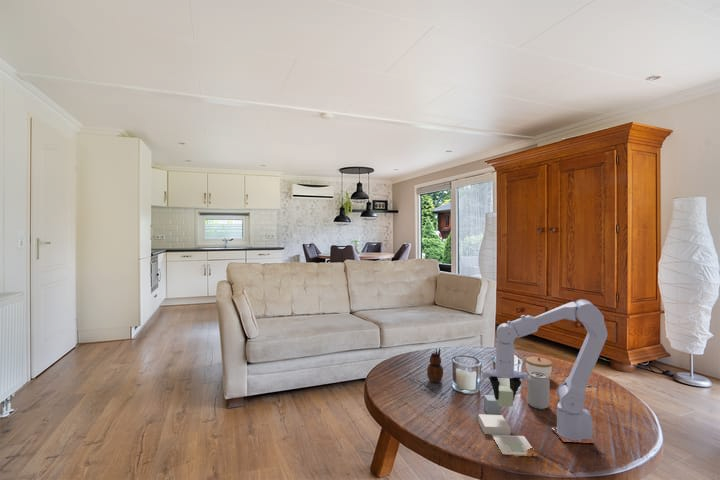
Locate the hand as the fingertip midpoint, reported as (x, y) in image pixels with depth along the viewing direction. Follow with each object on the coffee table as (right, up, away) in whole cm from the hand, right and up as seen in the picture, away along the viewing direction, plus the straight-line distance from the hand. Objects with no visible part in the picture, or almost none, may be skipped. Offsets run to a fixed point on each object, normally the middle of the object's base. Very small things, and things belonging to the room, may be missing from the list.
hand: (504, 398), depth 123 cm
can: (+18, -9, +14) cm, 24 cm away
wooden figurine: (-16, -8, +35) cm, 39 cm away
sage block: (0, -1, 0) cm, 1 cm away
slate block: (-1, -8, +9) cm, 12 cm away
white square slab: (-5, -9, -3) cm, 10 cm away
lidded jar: (+32, -8, +41) cm, 53 cm away
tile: (-2, -9, -13) cm, 16 cm away
